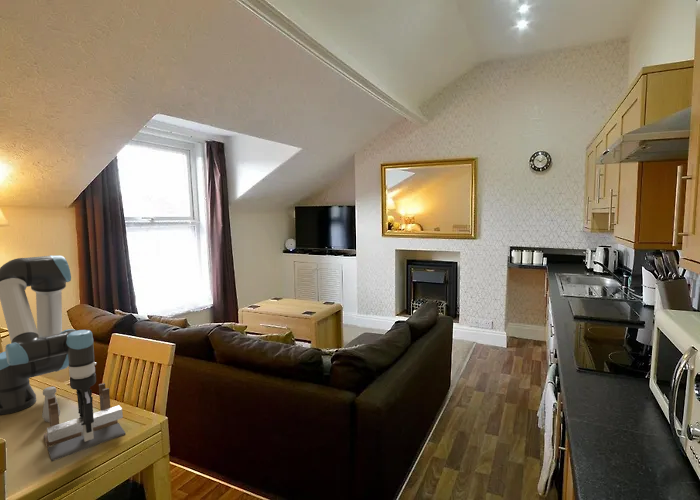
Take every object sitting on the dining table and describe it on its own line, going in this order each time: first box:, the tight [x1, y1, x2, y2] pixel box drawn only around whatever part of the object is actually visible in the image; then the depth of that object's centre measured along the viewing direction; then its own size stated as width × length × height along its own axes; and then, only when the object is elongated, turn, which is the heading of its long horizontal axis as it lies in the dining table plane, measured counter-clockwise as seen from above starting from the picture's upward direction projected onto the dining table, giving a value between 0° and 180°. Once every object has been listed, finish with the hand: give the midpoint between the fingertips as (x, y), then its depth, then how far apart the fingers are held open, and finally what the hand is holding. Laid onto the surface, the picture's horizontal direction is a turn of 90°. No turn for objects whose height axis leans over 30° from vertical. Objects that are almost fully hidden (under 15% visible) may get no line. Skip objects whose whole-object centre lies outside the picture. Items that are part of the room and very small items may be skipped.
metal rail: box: [46, 404, 124, 443], centre depth 139 cm, size 4×22×4 cm, turn 134°
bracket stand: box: [43, 382, 119, 448], centre depth 146 cm, size 8×22×14 cm, turn 134°
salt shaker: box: [41, 386, 61, 423], centre depth 154 cm, size 6×6×13 cm
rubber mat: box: [47, 422, 127, 462], centre depth 140 cm, size 9×22×1 cm, turn 134°
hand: (87, 436), depth 140 cm, fingers closed on metal rail, 4 cm apart
